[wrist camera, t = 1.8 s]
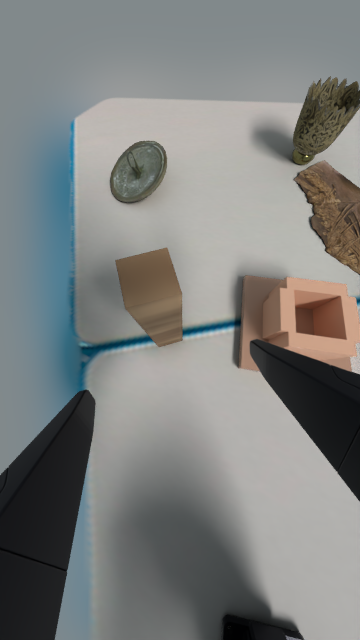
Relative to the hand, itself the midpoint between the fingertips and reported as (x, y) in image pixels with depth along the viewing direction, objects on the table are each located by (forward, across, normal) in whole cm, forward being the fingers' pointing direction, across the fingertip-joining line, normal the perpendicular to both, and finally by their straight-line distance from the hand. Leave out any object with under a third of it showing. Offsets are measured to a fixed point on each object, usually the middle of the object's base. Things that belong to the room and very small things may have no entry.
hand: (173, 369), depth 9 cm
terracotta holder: (+9, -15, +7) cm, 19 cm away
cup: (+29, -31, -12) cm, 44 cm away
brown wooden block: (+12, 0, +5) cm, 12 cm away
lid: (+31, -2, -14) cm, 34 cm away
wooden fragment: (+19, -31, -2) cm, 36 cm away
